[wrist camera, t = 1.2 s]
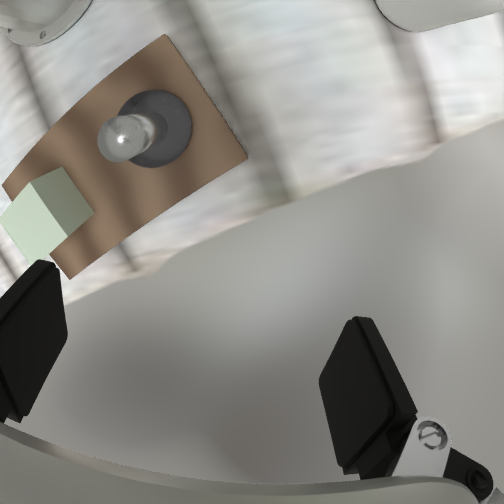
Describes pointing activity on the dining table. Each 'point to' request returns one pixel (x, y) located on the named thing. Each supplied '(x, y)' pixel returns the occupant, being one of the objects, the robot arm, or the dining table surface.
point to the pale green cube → (45, 214)
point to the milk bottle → (435, 12)
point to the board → (125, 178)
